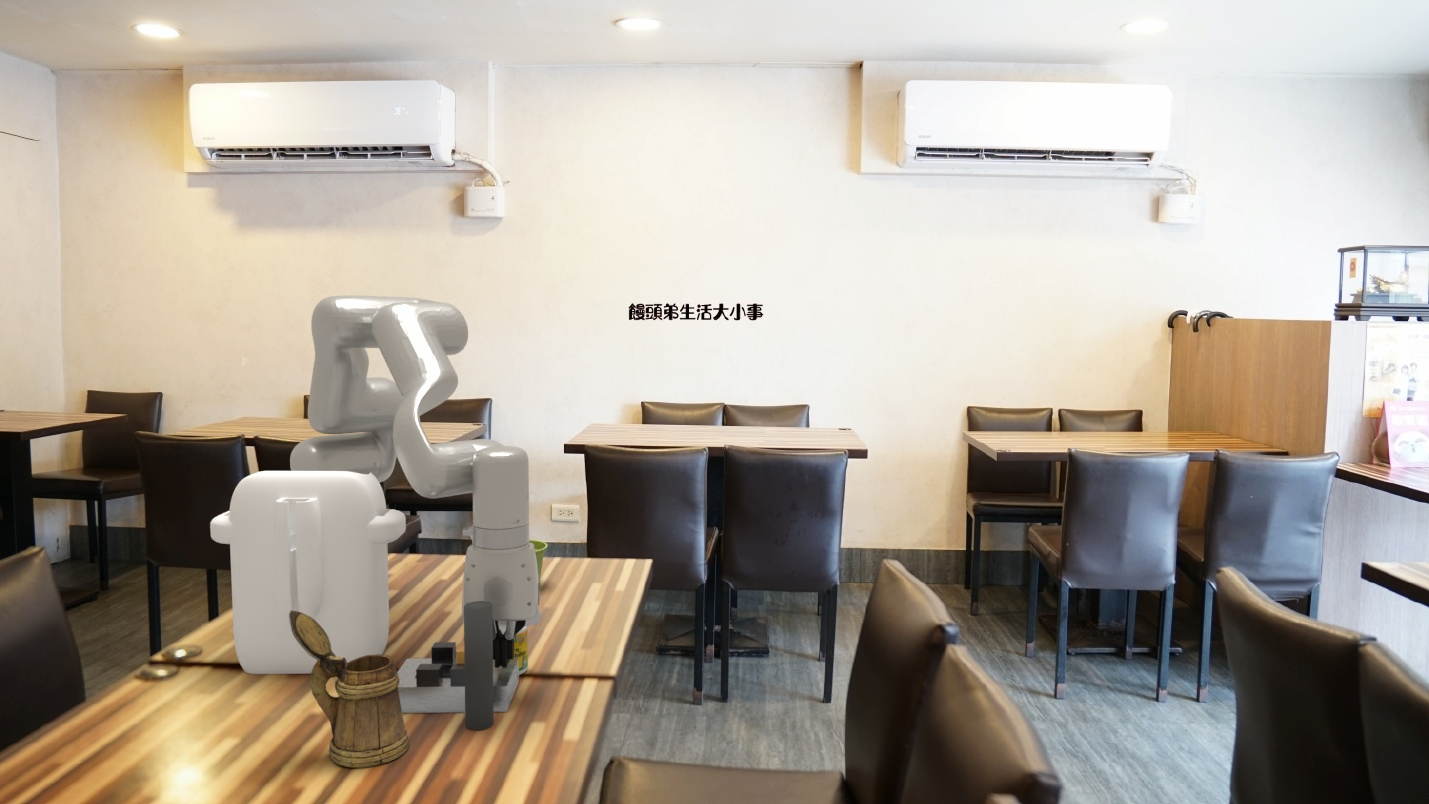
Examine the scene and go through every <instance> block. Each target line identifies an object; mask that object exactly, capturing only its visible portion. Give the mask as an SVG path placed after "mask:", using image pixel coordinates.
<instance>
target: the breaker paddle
mask: <svg viewBox="0 0 1429 804" xmlns="http://www.w3.org/2000/svg"><path fill="white" fill-rule="evenodd" d="M456 664H464V643H460V644H459V646H458V648H456Z"/></svg>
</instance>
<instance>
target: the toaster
mask: <svg viewBox="0 0 1429 804" xmlns="http://www.w3.org/2000/svg"><path fill="white" fill-rule="evenodd" d="M380 483H381V482H380ZM380 483H379V481H378V480H377V479H376V477H375V476H374V475H373V474H372V473H371V472H370V474H360V473H355V472H350V471H291V470H263V471H262V470H261V471H256V472H255V473H252V474H249V475H247V476H246V477H244V478H242V479H241V480H240V481H239V482H238V484H237V485H236V487H235V489H234V491H233V493H232V496H231V499H230V503H229V510H227V511H225V512H222V513H221V514H218V515H217V516H215V517H214V518H212V519H211V521H210V523H209V528H210V530H209V531H210V537H211V540H213V541H214V542H216V543H219V544H223V545H224V544H225V545H229V549H230V550H229V551H230V556H229V557H230V573H231V575H230V577H231V597H232V598H231V599H232V600H231V602H232V604H231V605H232V626H233V627H232V628H233V642H234V648H235V654H236V656H237V660H238V662H239V664H240V666H241V668H242V670H243V671H244V673H246V674H250V675H251V674H252V675H280V674H283V675H284V674H285V675H289V674H290V675H292V674H293V675H294V674H295V675H296V674H297V675H298V674H303V675H304V674H310V675H311V672H312V669H313V667H314V665H315V664H316V662H317V659H315V658H313V657H311V656H310V655H309V654H308V653H307V652H306V651H305V650H304V649H303V648H302V647H301V645H300V644H299V643H298V642H297V640H296V639H295V637H294V636H293V633H292V630H291V625H290V619H289V613H290V611H291V610H292V611H297V612H301V613H304V614H306V615H308V616H310V617H311V618H313V619H314V620H315V621H316V622H317V623H318V624H319V625H320V626H321V627H322V628H323V630H324V631H325V632H326V634H327V636H328V638H329V641H330V643H331V650H332V652H333V653H334V654H335V655H336V657H343V658H345V659H346V661H347V663H348V662H350V661H352V660H354V659H357V658H359V657H362V656H366V655H377V654H380V655H384V652H385V650H386V647H387V644H388V638H389V632H390V608H389V607H390V605H389V603H390V601H389V596H390V595H389V565H388V564H389V563H388V562H389V561H388V560H389V558H388V556H389V555H388V551H389V549H388V544H389V543H392V542H395V541H397V540H398V539H399V538H400V537H402V536H403V534H404V533H405V532H406V529H407V526H406V525H407V523H406V520H407V519H406V515H405V514H404V512H402V511H401V510H396V509H395V508H393V509H391V508H387V505H386V504H387V503H386V498H385V495H384V489H383V487H382V485H381V484H380Z"/></svg>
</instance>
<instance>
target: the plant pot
mask: <svg viewBox="0 0 1429 804" xmlns="http://www.w3.org/2000/svg"><path fill="white" fill-rule="evenodd" d="M529 542H530V543H533V545H534V549H535V553H536V559H537V566H538V577H539V586H540V583H541V576H542V569H543V561H544V556H545V555H546V550H547V549H548V546H549V545H548V543H547V542H545V541H542V540H536V539H529Z"/></svg>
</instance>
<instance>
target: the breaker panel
mask: <svg viewBox="0 0 1429 804" xmlns="http://www.w3.org/2000/svg"><path fill="white" fill-rule="evenodd" d="M456 651H457V642H456V641H455V642H453V641H447V642H446V641H445V642H444V641H443V642H437V641H436V642H434V643H433V645H432V646H431V658H427V657H426V658H423V657H422V658H406V659H405V661H404V662H403V664H401V666H400V668H399V669H398V670H397V672H398V676H399V681H400V682H399V685H398V691H399V697H400V703H401V709H402V714H421V713H423V714H425V713H426V714H427V713H428V714H429V713H430V714H431V713H433V714H434V713H435V714H436V713H465V664H456ZM519 680H520V675H519V658H513V659H510V661H509V663H508V666H507V668H503V667H499V668H495V660H493V710H494V713H498V712H499V713H502V712H503V713H504V712H506V713H507V712H508V710H509V708H510V705H511V703H512V700H513V697H514V695H515V692H516V689H517V687H518V684H519V682H520V681H519Z"/></svg>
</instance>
